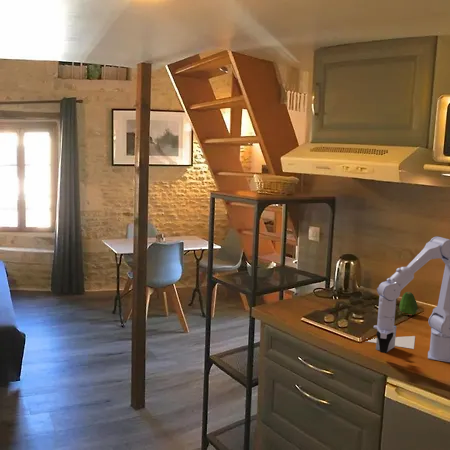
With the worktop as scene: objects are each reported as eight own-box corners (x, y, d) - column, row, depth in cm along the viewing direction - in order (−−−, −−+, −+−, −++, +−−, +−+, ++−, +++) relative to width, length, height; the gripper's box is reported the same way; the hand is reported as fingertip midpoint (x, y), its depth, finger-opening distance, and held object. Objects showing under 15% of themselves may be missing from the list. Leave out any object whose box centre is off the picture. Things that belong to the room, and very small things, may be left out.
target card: (415, 334, 210) (415, 333, 210) (413, 349, 192) (413, 348, 192) (365, 326, 217) (365, 326, 217) (359, 340, 199) (360, 340, 199)
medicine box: (383, 344, 195) (385, 323, 194) (394, 347, 192) (396, 325, 191) (375, 349, 189) (377, 327, 188) (387, 352, 186) (388, 330, 185)
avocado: (395, 315, 238) (397, 290, 236) (407, 314, 241) (410, 289, 240) (407, 320, 230) (409, 294, 229) (420, 319, 233) (422, 293, 232)
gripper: (376, 309, 188) (373, 344, 189) (372, 319, 174) (369, 356, 176) (396, 311, 185) (393, 347, 187) (394, 322, 172) (390, 360, 173)
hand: (383, 352), depth 181 cm, fingers closed
